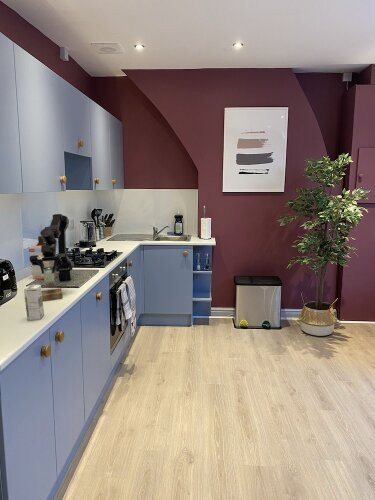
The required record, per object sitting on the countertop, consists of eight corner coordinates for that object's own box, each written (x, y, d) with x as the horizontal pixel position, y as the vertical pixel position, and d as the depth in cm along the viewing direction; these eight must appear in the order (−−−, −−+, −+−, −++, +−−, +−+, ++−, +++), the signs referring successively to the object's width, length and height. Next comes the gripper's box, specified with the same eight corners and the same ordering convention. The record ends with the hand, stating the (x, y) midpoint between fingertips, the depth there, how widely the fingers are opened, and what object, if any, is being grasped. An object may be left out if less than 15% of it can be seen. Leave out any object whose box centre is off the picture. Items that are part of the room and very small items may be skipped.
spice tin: (52, 282, 201) (50, 266, 199) (57, 284, 197) (55, 267, 195) (43, 285, 197) (40, 268, 195) (47, 286, 193) (45, 269, 192)
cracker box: (57, 277, 239) (53, 245, 235) (50, 280, 233) (46, 247, 230) (39, 277, 244) (34, 245, 240) (32, 279, 238) (28, 246, 234)
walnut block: (61, 293, 204) (61, 288, 204) (62, 298, 195) (61, 293, 195) (42, 296, 201) (41, 290, 201) (41, 301, 192) (41, 296, 191)
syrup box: (31, 316, 172) (27, 285, 169) (44, 315, 172) (40, 284, 169) (27, 320, 166) (22, 288, 163) (41, 319, 166) (36, 287, 164)
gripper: (27, 240, 195) (24, 266, 187) (65, 237, 197) (63, 263, 189) (34, 252, 205) (30, 277, 196) (69, 250, 206) (67, 274, 198)
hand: (47, 272), depth 194 cm, fingers closed on spice tin, 5 cm apart
